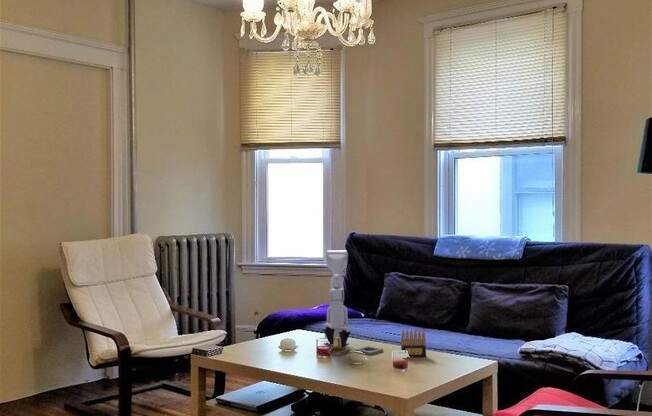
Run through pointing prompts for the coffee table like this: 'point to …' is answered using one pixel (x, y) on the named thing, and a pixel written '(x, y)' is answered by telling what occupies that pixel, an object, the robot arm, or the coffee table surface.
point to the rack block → (343, 351)
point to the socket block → (374, 350)
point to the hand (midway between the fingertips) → (337, 345)
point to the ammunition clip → (415, 349)
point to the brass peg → (337, 344)
